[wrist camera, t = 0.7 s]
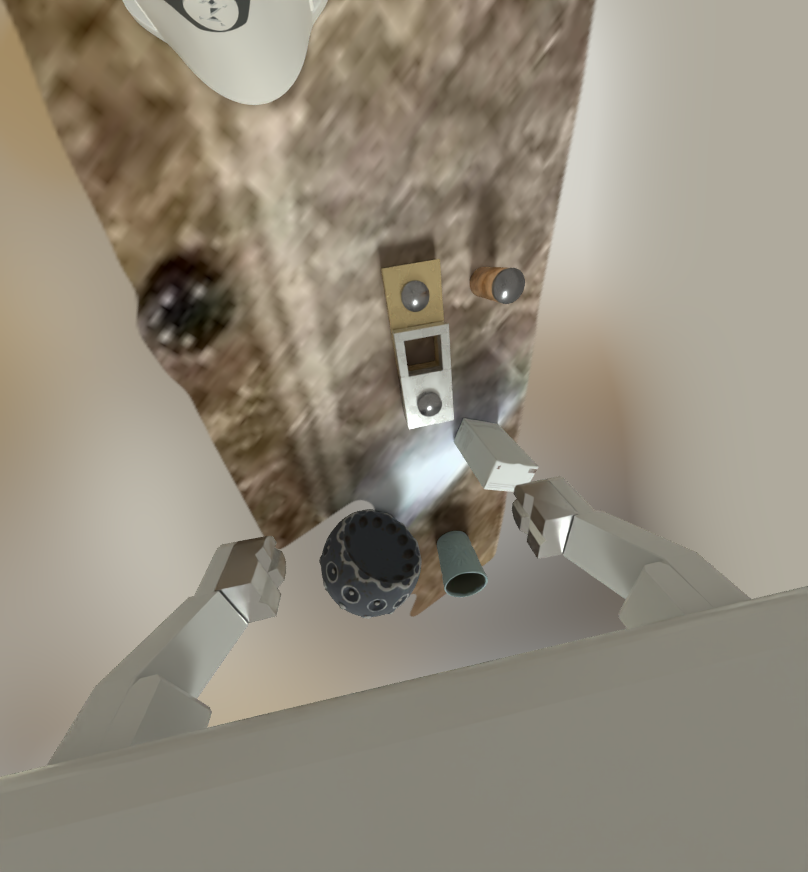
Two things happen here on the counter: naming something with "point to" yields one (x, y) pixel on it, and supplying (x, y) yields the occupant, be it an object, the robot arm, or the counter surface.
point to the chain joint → (416, 318)
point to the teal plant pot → (460, 565)
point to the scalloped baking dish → (370, 563)
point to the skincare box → (493, 455)
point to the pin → (497, 284)
